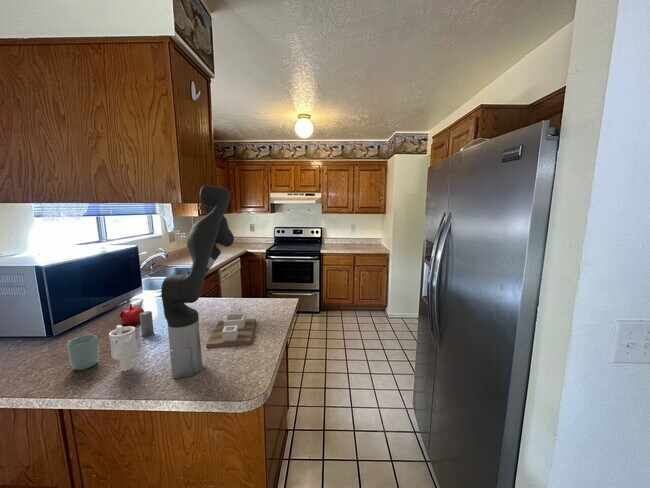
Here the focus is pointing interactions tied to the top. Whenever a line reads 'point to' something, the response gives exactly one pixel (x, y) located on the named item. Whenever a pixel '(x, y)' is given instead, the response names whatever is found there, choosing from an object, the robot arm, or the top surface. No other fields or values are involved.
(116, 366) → the top surface
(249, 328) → the board
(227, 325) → the socket fittings
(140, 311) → the pomegranate
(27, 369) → the top surface
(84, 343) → the cup
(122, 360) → the white tall rounded piece
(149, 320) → the capsule
